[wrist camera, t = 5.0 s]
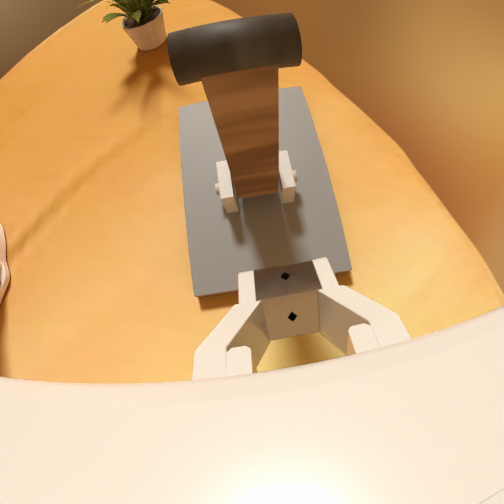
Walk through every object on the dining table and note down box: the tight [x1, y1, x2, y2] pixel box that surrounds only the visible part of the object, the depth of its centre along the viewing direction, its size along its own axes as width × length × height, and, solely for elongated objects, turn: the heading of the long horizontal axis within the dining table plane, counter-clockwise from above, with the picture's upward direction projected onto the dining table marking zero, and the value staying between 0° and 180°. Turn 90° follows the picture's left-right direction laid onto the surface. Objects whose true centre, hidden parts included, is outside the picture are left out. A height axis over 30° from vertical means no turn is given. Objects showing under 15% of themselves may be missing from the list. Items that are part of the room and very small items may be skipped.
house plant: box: [83, 0, 170, 51], centre depth 34 cm, size 14×14×16 cm
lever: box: [167, 13, 302, 199], centre depth 21 cm, size 3×6×19 cm, turn 99°
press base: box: [179, 86, 352, 297], centre depth 32 cm, size 24×16×6 cm, turn 9°
